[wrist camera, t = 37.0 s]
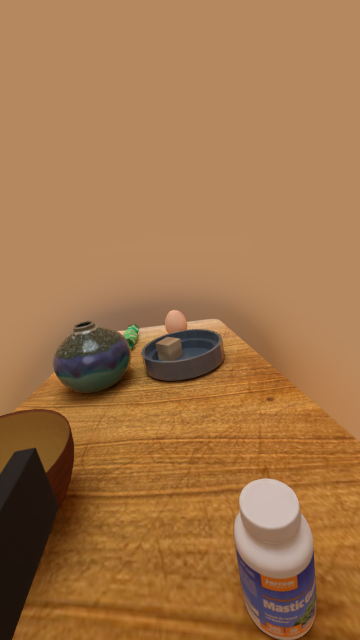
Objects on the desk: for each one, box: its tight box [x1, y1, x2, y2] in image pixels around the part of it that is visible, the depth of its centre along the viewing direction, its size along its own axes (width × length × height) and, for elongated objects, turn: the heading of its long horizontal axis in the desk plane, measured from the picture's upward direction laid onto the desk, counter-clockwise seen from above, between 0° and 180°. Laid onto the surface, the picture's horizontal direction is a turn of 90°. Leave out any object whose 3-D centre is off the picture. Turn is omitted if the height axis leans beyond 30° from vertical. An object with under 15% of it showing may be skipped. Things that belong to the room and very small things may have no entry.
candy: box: [124, 324, 139, 350], centre depth 86 cm, size 12×3×4 cm
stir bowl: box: [141, 329, 225, 381], centre depth 67 cm, size 17×17×4 cm
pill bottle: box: [234, 479, 317, 640], centre depth 23 cm, size 5×5×10 cm
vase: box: [53, 321, 131, 393], centre depth 63 cm, size 15×15×13 cm
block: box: [156, 337, 183, 361], centre depth 70 cm, size 4×4×4 cm
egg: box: [165, 310, 187, 334], centre depth 83 cm, size 6×6×8 cm
